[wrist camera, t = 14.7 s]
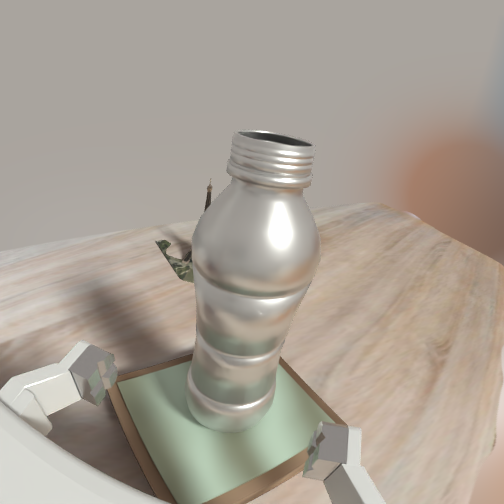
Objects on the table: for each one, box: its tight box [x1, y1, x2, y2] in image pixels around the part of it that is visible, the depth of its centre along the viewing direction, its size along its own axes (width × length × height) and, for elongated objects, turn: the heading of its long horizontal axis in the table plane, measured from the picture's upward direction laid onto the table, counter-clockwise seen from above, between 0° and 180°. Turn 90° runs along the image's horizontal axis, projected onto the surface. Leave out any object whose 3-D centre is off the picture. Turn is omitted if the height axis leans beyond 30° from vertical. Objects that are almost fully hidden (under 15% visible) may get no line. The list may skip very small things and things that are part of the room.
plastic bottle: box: [184, 130, 321, 433], centre depth 18 cm, size 6×7×20 cm
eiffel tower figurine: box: [156, 179, 212, 283], centre depth 45 cm, size 15×10×13 cm
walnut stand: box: [107, 354, 348, 504], centre depth 23 cm, size 16×14×3 cm
